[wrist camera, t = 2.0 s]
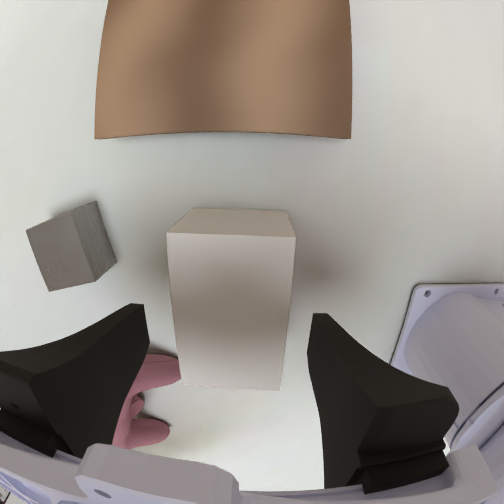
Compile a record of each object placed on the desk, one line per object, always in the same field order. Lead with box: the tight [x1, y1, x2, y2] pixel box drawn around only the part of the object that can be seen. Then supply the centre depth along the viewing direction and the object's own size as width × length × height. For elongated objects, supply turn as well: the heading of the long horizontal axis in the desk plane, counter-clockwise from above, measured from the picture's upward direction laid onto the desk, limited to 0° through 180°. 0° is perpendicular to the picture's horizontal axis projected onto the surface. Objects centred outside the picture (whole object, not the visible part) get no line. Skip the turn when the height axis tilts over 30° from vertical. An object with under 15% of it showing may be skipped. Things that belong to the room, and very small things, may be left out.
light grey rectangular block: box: [166, 208, 296, 391], centre depth 15 cm, size 5×8×5 cm, turn 178°
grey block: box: [26, 201, 117, 292], centre depth 16 cm, size 4×4×3 cm
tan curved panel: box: [95, 0, 352, 139], centre depth 12 cm, size 12×10×2 cm
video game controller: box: [112, 354, 181, 449], centre depth 18 cm, size 10×5×7 cm, turn 162°
